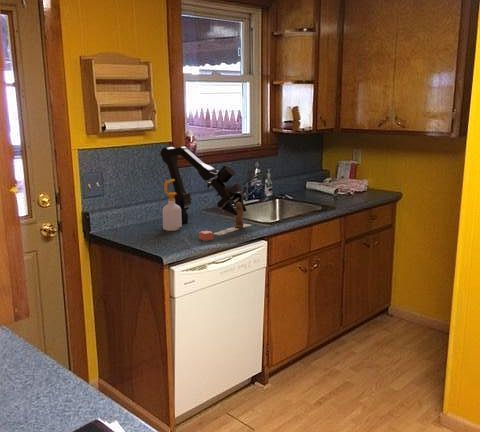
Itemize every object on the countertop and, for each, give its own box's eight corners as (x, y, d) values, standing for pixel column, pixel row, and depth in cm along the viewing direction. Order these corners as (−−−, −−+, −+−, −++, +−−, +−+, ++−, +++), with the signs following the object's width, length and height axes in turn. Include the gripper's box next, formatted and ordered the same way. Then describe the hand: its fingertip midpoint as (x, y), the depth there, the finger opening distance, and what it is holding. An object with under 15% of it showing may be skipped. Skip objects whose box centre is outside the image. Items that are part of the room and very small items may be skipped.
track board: (224, 239, 238) (224, 236, 237) (206, 235, 244) (206, 232, 244) (257, 228, 258) (257, 225, 258) (240, 225, 264) (240, 222, 264)
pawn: (237, 228, 252) (237, 203, 249) (232, 226, 255) (232, 201, 253) (245, 227, 254) (245, 202, 251) (240, 225, 258) (240, 201, 255)
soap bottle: (183, 230, 255) (182, 180, 249) (165, 231, 251) (163, 181, 246) (179, 225, 263) (177, 177, 257) (161, 227, 260) (159, 178, 254)
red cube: (204, 243, 231) (204, 234, 230) (199, 241, 234) (199, 231, 233) (213, 242, 233) (213, 232, 232) (207, 240, 237) (207, 230, 236)
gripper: (222, 180, 243) (243, 206, 241) (240, 175, 259) (260, 199, 257) (207, 196, 248) (228, 220, 246) (226, 190, 265) (245, 213, 262)
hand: (241, 213), depth 253 cm, fingers open, 9 cm apart
